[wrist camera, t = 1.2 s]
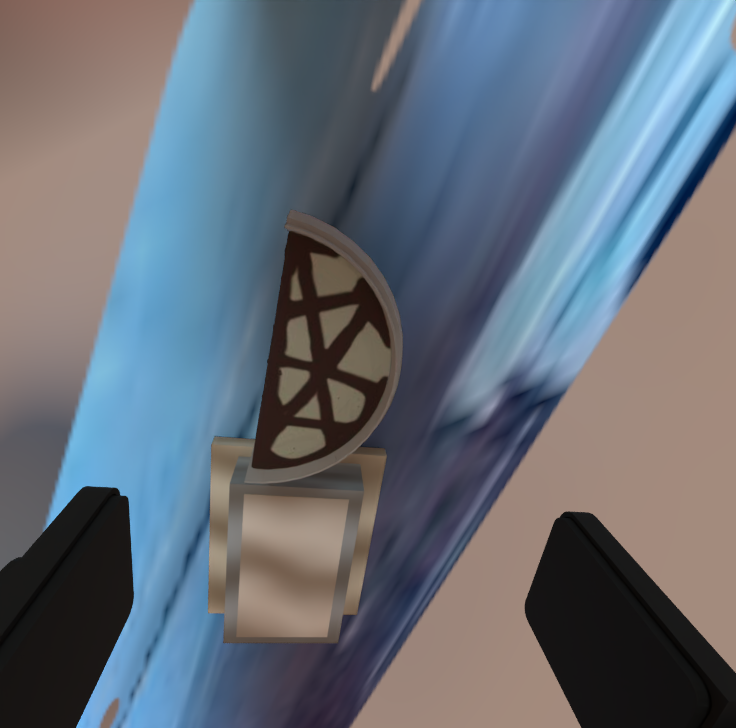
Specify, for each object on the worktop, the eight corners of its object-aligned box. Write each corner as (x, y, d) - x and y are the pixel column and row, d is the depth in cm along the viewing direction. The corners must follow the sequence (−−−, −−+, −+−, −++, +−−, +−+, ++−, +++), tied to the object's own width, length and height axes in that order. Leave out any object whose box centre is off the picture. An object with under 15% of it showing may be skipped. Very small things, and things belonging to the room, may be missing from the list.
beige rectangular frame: (215, 436, 29) (198, 471, 25) (384, 448, 30) (393, 483, 27) (211, 601, 34) (197, 651, 30) (355, 603, 36) (359, 651, 32)
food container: (357, 411, 29) (373, 508, 20) (268, 397, 28) (242, 492, 19) (401, 232, 25) (448, 248, 16) (300, 207, 24) (287, 209, 15)
